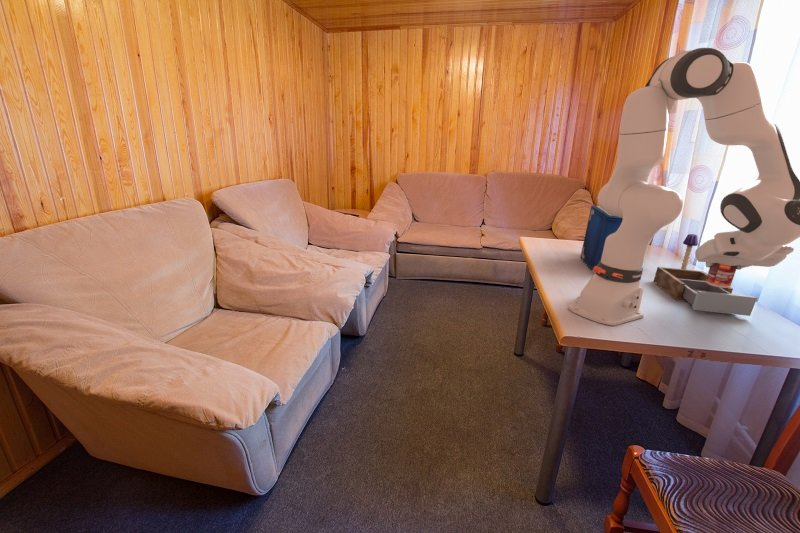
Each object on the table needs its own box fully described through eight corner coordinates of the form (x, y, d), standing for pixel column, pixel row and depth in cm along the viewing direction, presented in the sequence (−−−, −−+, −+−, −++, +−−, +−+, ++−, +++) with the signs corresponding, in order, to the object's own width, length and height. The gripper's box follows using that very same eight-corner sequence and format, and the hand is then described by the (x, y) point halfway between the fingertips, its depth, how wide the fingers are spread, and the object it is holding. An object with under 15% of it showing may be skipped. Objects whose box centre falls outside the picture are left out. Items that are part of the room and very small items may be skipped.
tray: (750, 315, 109) (757, 297, 108) (694, 309, 112) (699, 292, 110) (713, 292, 127) (719, 276, 125) (665, 287, 130) (670, 271, 128)
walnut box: (727, 305, 120) (733, 288, 118) (676, 300, 123) (681, 283, 121) (697, 285, 136) (702, 271, 134) (653, 281, 139) (657, 266, 137)
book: (612, 277, 142) (628, 214, 134) (593, 275, 144) (607, 213, 136) (596, 260, 163) (608, 205, 154) (579, 259, 164) (590, 204, 156)
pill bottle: (713, 287, 112) (724, 252, 109) (700, 280, 118) (710, 247, 114) (735, 289, 111) (747, 254, 108) (721, 281, 117) (732, 248, 114)
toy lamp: (683, 276, 146) (695, 236, 141) (671, 272, 150) (683, 233, 145) (690, 275, 148) (703, 235, 143) (678, 271, 152) (690, 232, 147)
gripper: (794, 237, 100) (758, 260, 113) (710, 232, 104) (684, 254, 117) (801, 257, 98) (763, 278, 110) (715, 251, 102) (687, 272, 114)
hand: (722, 266), depth 113 cm, fingers closed on pill bottle, 6 cm apart
